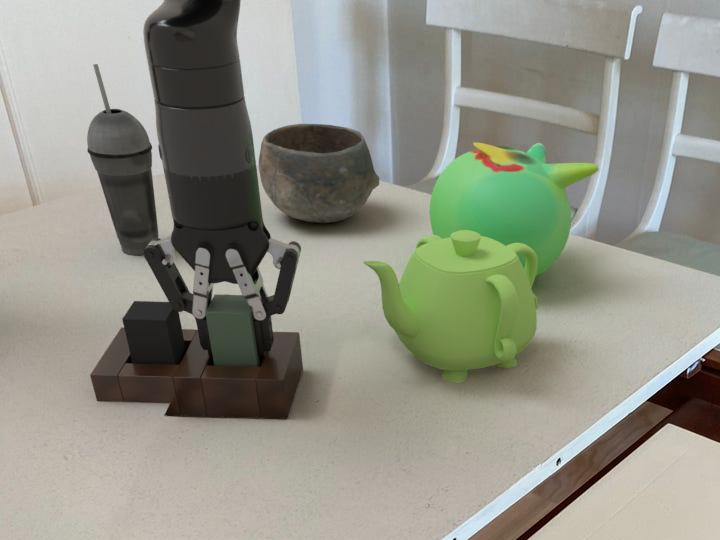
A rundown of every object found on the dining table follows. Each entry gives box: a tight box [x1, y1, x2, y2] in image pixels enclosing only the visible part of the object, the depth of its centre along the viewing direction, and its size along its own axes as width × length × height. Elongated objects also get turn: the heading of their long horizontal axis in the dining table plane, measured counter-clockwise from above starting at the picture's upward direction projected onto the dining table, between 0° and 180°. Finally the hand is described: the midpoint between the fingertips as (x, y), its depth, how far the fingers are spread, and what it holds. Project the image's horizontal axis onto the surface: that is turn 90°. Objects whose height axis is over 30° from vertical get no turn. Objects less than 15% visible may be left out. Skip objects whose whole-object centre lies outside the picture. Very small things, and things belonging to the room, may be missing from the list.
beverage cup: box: [86, 63, 159, 256], centre depth 114 cm, size 7×7×20 cm
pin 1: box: [121, 300, 186, 365], centre depth 92 cm, size 4×4×8 cm
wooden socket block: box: [89, 326, 304, 420], centre depth 93 cm, size 18×10×4 cm, turn 89°
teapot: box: [362, 230, 539, 384], centre depth 96 cm, size 16×14×13 cm
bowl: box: [258, 123, 380, 224], centre depth 127 cm, size 14×15×10 cm
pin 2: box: [205, 293, 264, 367], centre depth 91 cm, size 4×4×8 cm
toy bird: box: [429, 141, 600, 277], centre depth 113 cm, size 18×17×15 cm
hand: (238, 352), depth 92 cm, fingers closed on pin 2, 4 cm apart
